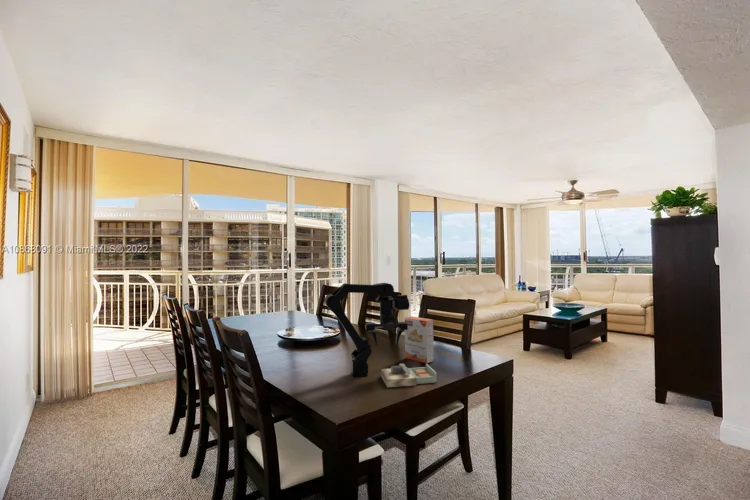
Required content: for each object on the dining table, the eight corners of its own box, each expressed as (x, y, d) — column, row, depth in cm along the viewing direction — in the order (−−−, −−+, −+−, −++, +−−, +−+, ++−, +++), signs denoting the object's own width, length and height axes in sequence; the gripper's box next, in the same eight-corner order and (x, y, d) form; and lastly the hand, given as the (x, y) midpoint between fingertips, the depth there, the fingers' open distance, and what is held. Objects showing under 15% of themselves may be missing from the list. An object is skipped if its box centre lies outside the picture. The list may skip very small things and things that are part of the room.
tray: (416, 383, 153) (416, 374, 153) (408, 373, 166) (408, 364, 166) (436, 382, 155) (436, 372, 155) (427, 372, 168) (426, 363, 168)
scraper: (410, 376, 154) (394, 377, 153) (403, 368, 165) (389, 369, 164) (410, 370, 154) (394, 371, 153) (403, 362, 165) (389, 363, 164)
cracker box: (404, 358, 190) (403, 317, 190) (412, 356, 194) (411, 315, 194) (426, 364, 180) (426, 320, 180) (434, 361, 184) (433, 319, 184)
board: (387, 387, 150) (387, 379, 150) (381, 376, 164) (381, 369, 164) (416, 385, 152) (416, 377, 152) (407, 374, 166) (407, 367, 166)
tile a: (430, 376, 156) (430, 380, 156) (427, 373, 160) (427, 377, 160) (421, 377, 155) (421, 380, 155) (418, 374, 159) (418, 377, 159)
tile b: (426, 371, 162) (426, 375, 162) (423, 369, 166) (423, 372, 166) (417, 372, 161) (417, 376, 161) (414, 369, 165) (414, 373, 165)
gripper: (367, 314, 161) (367, 350, 161) (409, 313, 163) (410, 349, 163) (365, 310, 172) (365, 344, 172) (405, 309, 174) (405, 343, 174)
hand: (386, 345), depth 170 cm, fingers open, 9 cm apart
